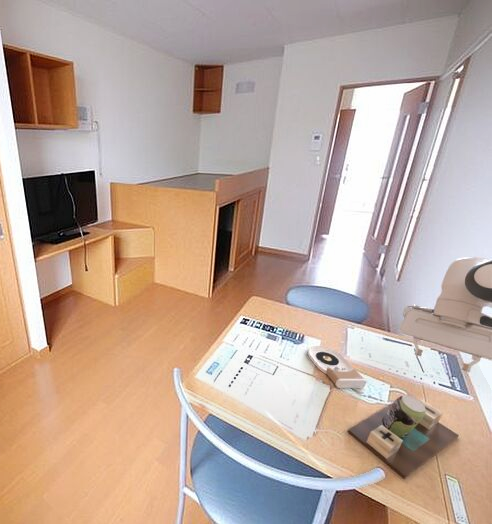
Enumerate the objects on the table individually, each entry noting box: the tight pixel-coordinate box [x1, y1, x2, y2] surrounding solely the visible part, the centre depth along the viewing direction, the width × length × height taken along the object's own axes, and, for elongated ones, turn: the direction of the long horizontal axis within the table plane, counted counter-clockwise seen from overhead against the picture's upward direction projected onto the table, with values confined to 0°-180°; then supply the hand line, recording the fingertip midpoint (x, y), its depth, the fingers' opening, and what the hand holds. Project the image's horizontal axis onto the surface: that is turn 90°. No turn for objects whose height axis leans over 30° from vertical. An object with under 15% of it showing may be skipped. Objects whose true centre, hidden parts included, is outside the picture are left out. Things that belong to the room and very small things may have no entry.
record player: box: [307, 345, 367, 389], centre depth 109 cm, size 12×3×20 cm
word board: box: [347, 399, 460, 480], centre depth 83 cm, size 26×14×5 cm, turn 115°
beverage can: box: [382, 394, 426, 437], centre depth 82 cm, size 6×7×12 cm
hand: (440, 362), depth 82 cm, fingers open, 8 cm apart
